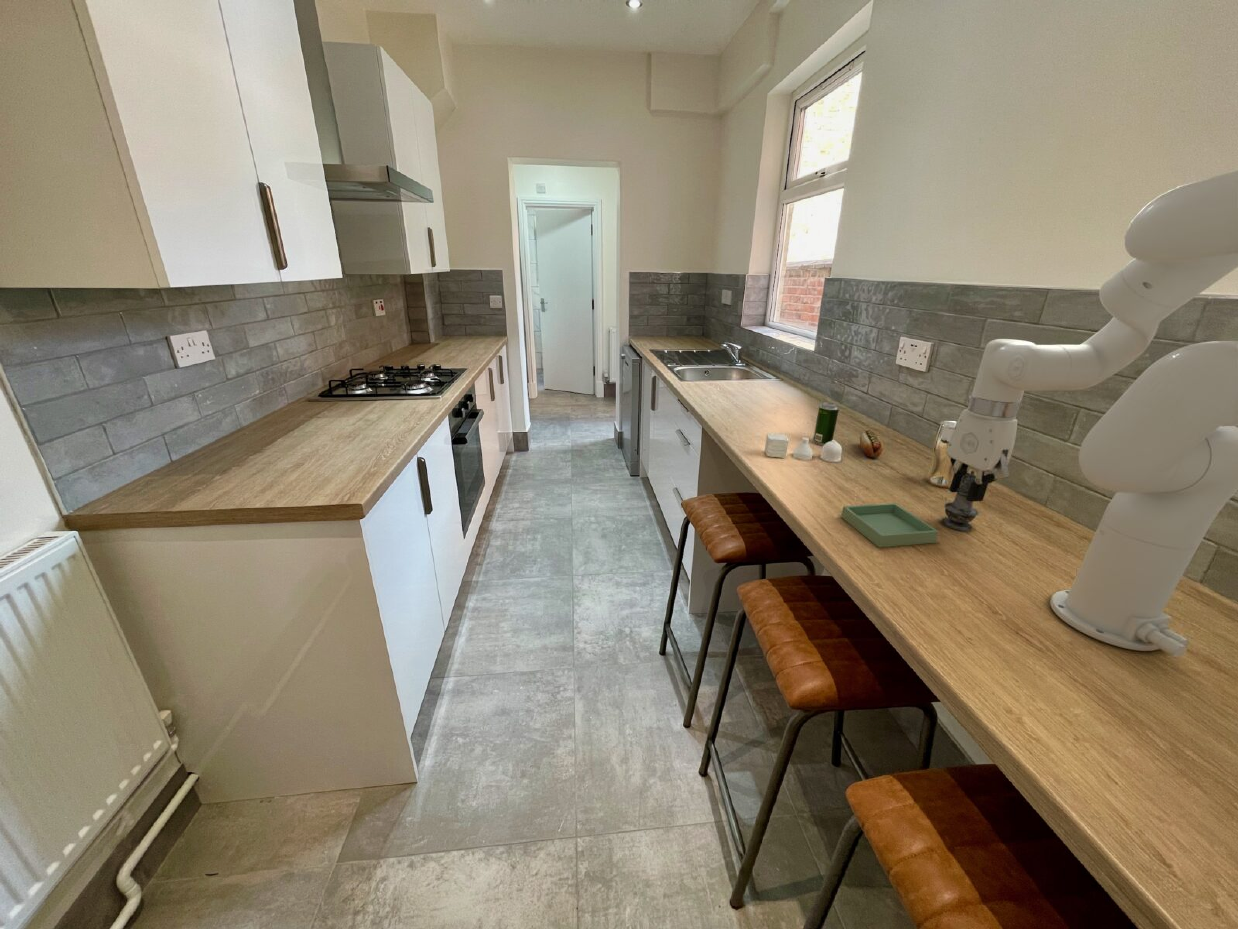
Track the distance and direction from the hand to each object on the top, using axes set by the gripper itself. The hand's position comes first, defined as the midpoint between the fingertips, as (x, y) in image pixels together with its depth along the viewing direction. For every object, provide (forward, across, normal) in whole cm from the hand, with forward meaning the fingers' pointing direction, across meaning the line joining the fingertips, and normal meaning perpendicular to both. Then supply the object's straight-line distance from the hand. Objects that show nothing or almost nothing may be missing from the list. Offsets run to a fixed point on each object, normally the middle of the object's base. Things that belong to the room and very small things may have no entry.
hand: (965, 495), depth 98 cm
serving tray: (+7, 0, -16) cm, 17 cm away
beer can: (+6, -50, 0) cm, 51 cm away
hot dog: (+7, -41, +9) cm, 43 cm away
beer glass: (+7, -19, +13) cm, 24 cm away
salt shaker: (+7, 0, 0) cm, 7 cm away
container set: (+7, -40, -12) cm, 42 cm away
